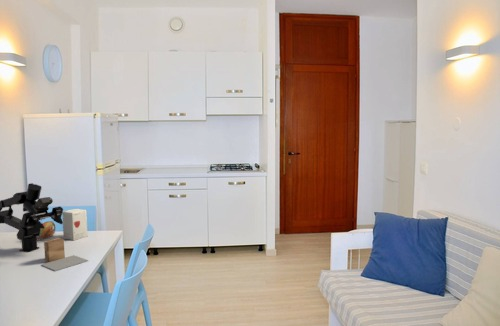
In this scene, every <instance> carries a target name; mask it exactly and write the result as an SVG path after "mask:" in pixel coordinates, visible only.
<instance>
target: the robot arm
mask: <svg viewBox="0 0 500 326" xmlns="http://www.w3.org/2000/svg"><path fill="white" fill-rule="evenodd" d="M42 187H43V186H41V185H39V184H36V183H32V182H31V183H28V185H27V190H26V191H20V192H16V193H14V194H12V196H11V197H9V198H6V199H1V200H0V224H5V225H8V226H10V227H12V228H14V229H16V230H18V231H17V233H16V238H17V240H20V241H21V242H20V243H21V248H20V249H19V251H20V252H24V253H25V252H26V253H29V252H32V251H36V250H38V249H40V247H39V246H38V243H37V241H38V240H36V236H39V235H40V229H41V228H42V229H44V225H43V224H42V223H43V222H41V221H42V220H45V219H47V218H50V219H51V220H52V222H55V223H57V224H59V225H63V218H62V216H63V215H62V212H63V211H64V208H63V207H62V206H55V207H52V208H51V209H52V210H51V211H49V206H50V205H51V204H52V203H53V202H54V201H53V200H54V199H52V197H50V196H49V197H45V196H44V197H41V191H42ZM15 205H17V206H19V205H22V212H23V214H22V216H21V217H22V218H19V217H17V216H14V215H13V214H14V210H13V207H12V206H15ZM4 208H8V209H5V210H3V209H4ZM24 212H25V213H24ZM40 220H41V221H40Z"/></svg>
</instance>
